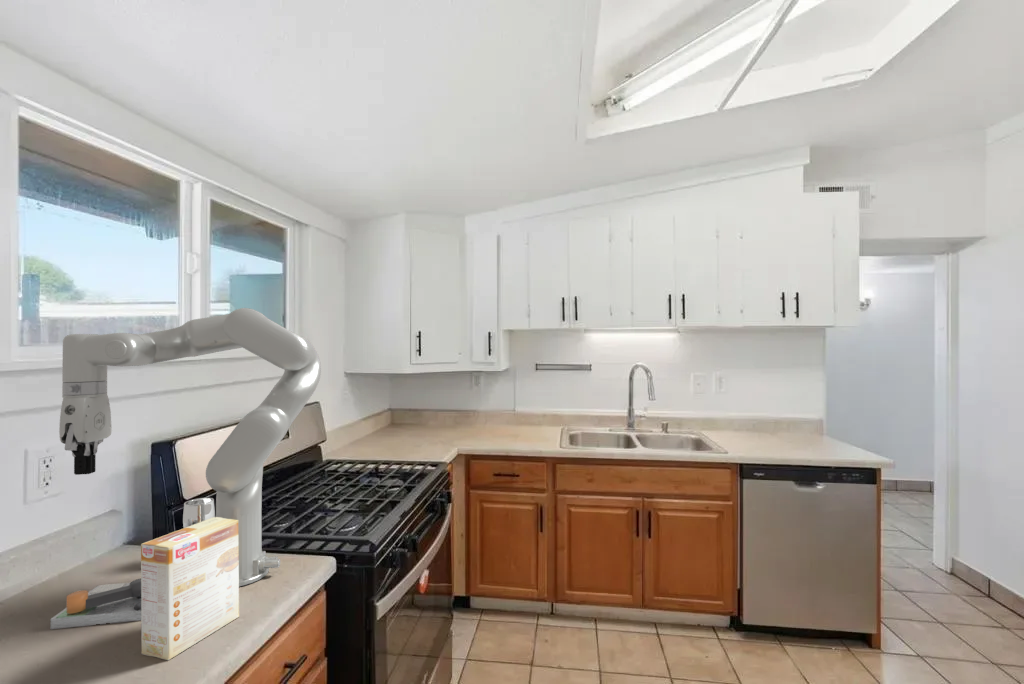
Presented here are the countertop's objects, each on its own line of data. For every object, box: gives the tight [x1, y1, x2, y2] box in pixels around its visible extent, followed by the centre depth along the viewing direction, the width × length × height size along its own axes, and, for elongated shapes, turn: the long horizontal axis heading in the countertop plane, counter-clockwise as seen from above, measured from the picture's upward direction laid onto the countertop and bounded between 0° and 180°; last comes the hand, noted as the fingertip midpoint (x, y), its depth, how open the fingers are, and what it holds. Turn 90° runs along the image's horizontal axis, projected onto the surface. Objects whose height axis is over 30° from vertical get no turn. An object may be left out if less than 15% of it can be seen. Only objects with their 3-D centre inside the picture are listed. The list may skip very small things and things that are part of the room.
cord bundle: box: [134, 601, 141, 611], centre depth 105 cm, size 4×17×3 cm, turn 10°
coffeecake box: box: [140, 516, 240, 661], centre depth 93 cm, size 15×7×20 cm, turn 162°
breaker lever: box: [66, 577, 141, 614], centre depth 101 cm, size 13×4×3 cm, turn 131°
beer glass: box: [182, 497, 216, 529], centre depth 128 cm, size 7×7×15 cm
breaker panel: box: [50, 582, 141, 630], centre depth 104 cm, size 16×14×2 cm
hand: (84, 473), depth 109 cm, fingers closed
